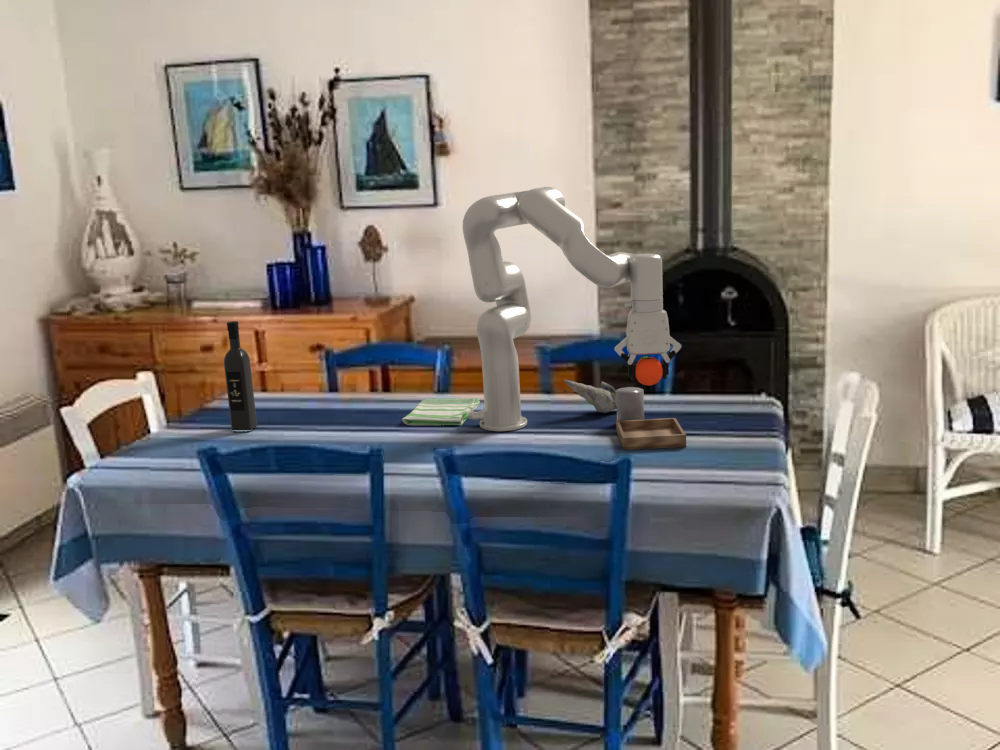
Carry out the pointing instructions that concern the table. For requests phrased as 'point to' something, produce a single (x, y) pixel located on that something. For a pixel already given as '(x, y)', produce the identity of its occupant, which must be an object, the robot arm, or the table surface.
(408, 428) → the table surface
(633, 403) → the grey rounded cylinder
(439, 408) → the dish towel
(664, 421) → the walnut tray
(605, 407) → the seashell
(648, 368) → the clementine
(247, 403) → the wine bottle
